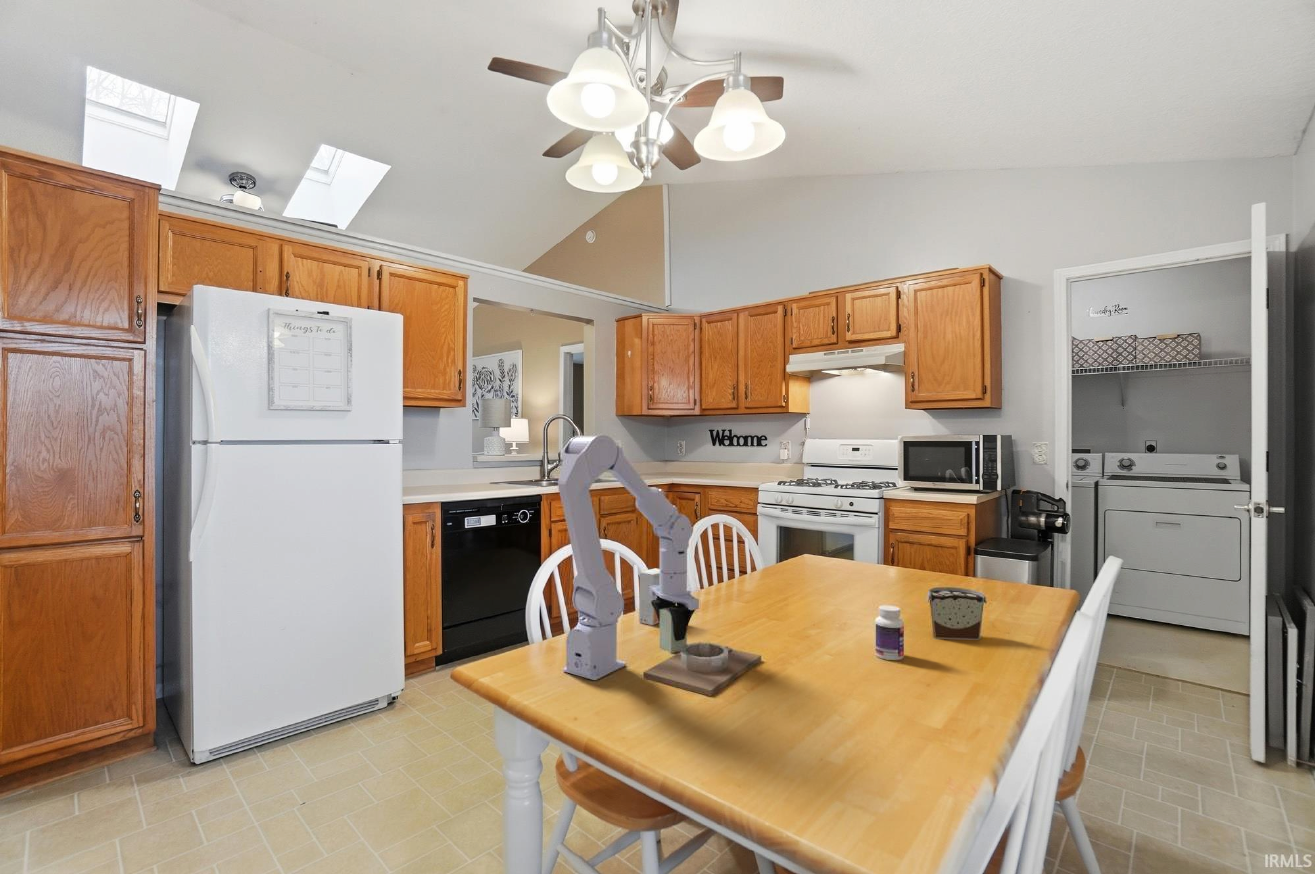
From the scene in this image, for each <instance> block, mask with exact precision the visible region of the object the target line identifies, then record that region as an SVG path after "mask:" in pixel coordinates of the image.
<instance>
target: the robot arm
mask: <svg viewBox="0 0 1315 874" xmlns="http://www.w3.org/2000/svg"><path fill="white" fill-rule="evenodd" d="M561 455H562V463H561V467H560V473H559V476H558V481H557V487H558V491H559V496H560V501H561V505H562V510H563V514H564V520H565V523H566V528H567V532H568V537H569V541H570V545H571V546H570V547H571V550H572V555H573V559H574V563H575V569H576V573H577V574H576V576H574V578H573V580H572V584H573V592H572V596H571V597H572V601H571V602H572V606H573V607H574V608H575V610H576V611H577V613H578V616H577V617H578V622H577V625H575V626H574V628H572V629H571V630H570V631H569V632H568V633H567V635H566V657H565V658H566V659H565V660H566V661H565V662H566V663H565V665H566V666H565V667H563V668H562V671H563V672H565V673H568V674H571V675H574V676H575V675H576V676H579V677H581V678H585V679H589V680H592V681H597V680H598V679H601V678H603V677H605V676H607V675H608V674H611V673H613V672H615V671H616V670H619V669H620V668H623V667H624V666H626V665H627V662H626V661H624V660H619V659H618V658H617V657H618V656H617V653H618V650H617V649H618V647H617V644H618V642H617V640H618V639H617V637H618V636H617V629H618V628H617V626H618V625H617V624H618V622H619V618H620V617H621V616H622V614H623V611H624V608H625V600H624V597H623V595H622V593H621V592H620V591H619V589H618V588H617V585H616V581H615V579H614V577H613V576H612V575H611V574H610V572H609V571H608V570H607V568H606V562H605V558H604V554H603V548H602V544H601V539H600V536H599V535H600V534H599V530H598V525H597V521H596V517H595V511H594V507H593V503H592V498H591V492H590V488H591V487H592V486H593V484H594V483H595V481H596V480H597V479H598V478H599V477H601V476H602V475H603V474H604V473H609V474H611V475H612V476H613V477H614V478H615V479H616V480H617V481H618V482H619V484H621V485H622V486H623V487H624V488H625V489H626V490H627V491H628V492H629V493H630V494H631V495H632V496H633V497H634V498H635V507H636V509H637V510H638V511H639V512H640V513H641V514H642V516H644V517H645V518H646V520H648V521H649V523H650V525H652V530H653V533H654V535H655V536H657V537H658V538H659V569H660V571H659V585H653V586H650V595H651V596H654V595H655V596H657V598H656V600H652V601H651V604H652V606H653V608H654V610H655V612H656V614H657V617H658V620H659V623H658V624H659V625H660V609H663V608H668V609H669V611H670V614H671V617H672V621H673V630H674V638H675V640H676V641H679V640H683V639H685V635H686V631H687V630H688V627H689V623H690V621H691V620H692V619H691V618H692V616H693V614H694V613H695V611H696V610H699V609H700V599H699V598H696V597H695V596H693V595H692V594H691V590H690V589H688V549H689V546H690V544H689V543H690V539H691V538H692V536H693V533H694V527H693V526H692V523H691V520H690V519H689V517H688V516H686V515H684V514H682V513H679V511H678V507H677V506H676V505H673V504H672V503H671V502H670V501H669V499H667V497H666V496H665V494H666V492H665V491H664V490H663V489H662V488H658V487H656V486H653V487H652V486H651V487H649V486H648V483H646V482H645V480H644V479H643V478H642V476H641V475H640V474H639V473H638V471H637V470H636V469H635V467H634V466H633V465H632V463H631V462H630V460H628V459H627V457H626V456H625V454H624V450H623V448H621V447H620V446H619V445H618V444H617V443H616V442H615V440H614V439H613V438H612V437H611V436H609V435H605V434H601V435H600V434H599V435H582V434H579V435H574V436H573V437H572V438H571V439H569V440H568V442H567V443H566V445H565V446H564V447H563V449H562V451H561Z"/></svg>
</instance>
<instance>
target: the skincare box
mask: <svg viewBox="0 0 1315 874" xmlns="http://www.w3.org/2000/svg"><path fill="white" fill-rule="evenodd" d="M659 571H660V568H656V567H655V568H651V569H647V570H645V571H644V570H643V571H640V572H639V595H638V597H639V599H638V601H639V606H638V607H639V608H638V613H639V614H638V622H639V623H640V622H641V623H640V624H644V625H645V624H646V625H650V626H654V625H656V624H659V620H658V617H657V614H656V612H655V610H654V608H653V606H652V604H651V601H652V600H656V598H657V596H655V595H654V596H651V595H650V586H653V585H659Z"/></svg>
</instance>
